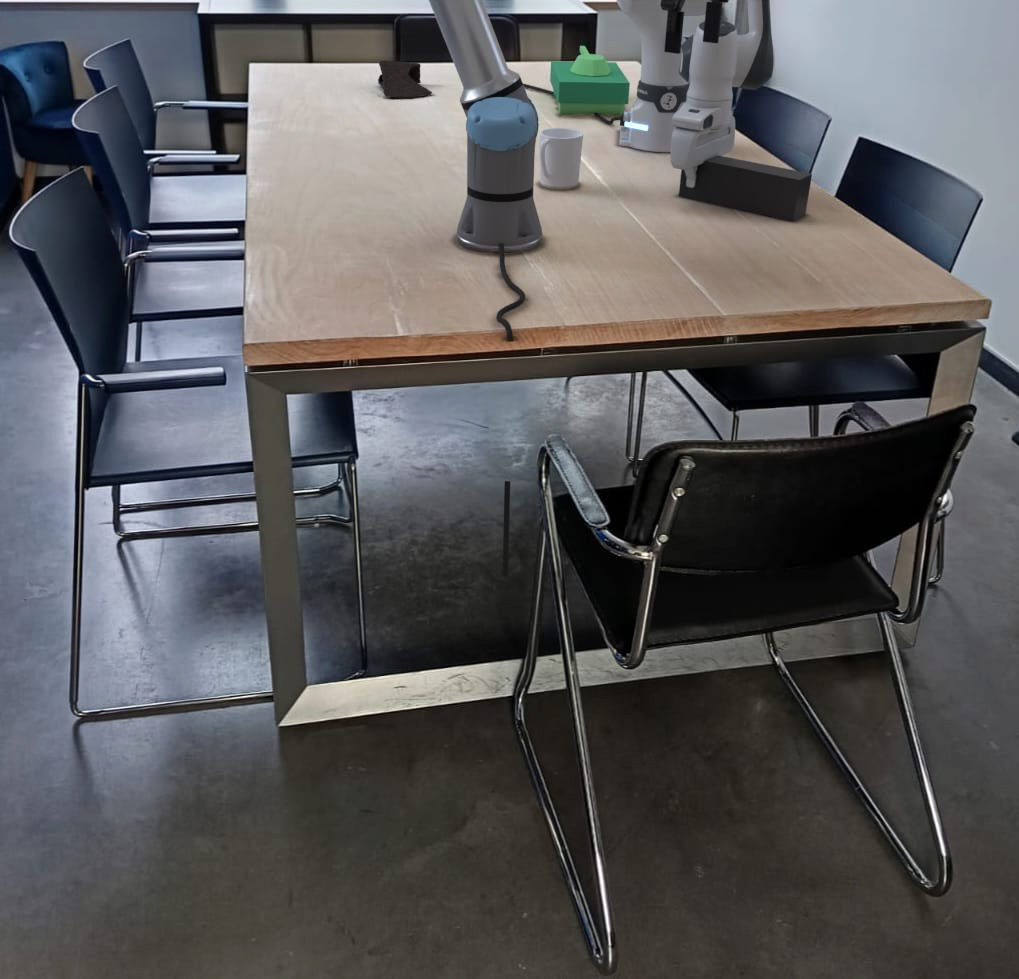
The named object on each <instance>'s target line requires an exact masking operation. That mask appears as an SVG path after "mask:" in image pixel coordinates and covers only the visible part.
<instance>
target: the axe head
mask: <svg viewBox="0 0 1019 979" xmlns="http://www.w3.org/2000/svg"><path fill="white" fill-rule="evenodd" d="M378 66H379V68H380V72H381V74H379V75H378V79H377V84H378V85H379V86H380V87H381V88H382V89H383V95H384V96H385V97H388V98H394V99H395V98H396V99H403V98H405V99H406V98H407V99H411V98H418V97H425V96H429V95H432V94H433V91H431V90H430V89H428V88H427V87H425V86H422V85H421V84H422V82H421V63H419V62H410V61H408V62H407V61H397V60H388V59H387V60H380V61H379V62H378Z"/></svg>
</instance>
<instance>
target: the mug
mask: <svg viewBox="0 0 1019 979" xmlns="http://www.w3.org/2000/svg"><path fill="white" fill-rule="evenodd" d="M583 140H584V132H583V131H582V130H579V129H575V128H569V127H550V128H549V127H548V128H544V129H541V130H540V131H538V144H539V145H538V146H539V147H538V148H539V151H538V155H539V157H538V158H539V159H538V160H539V184H540V186H542V187H543V188H546V189H551V190H571V189H573V188H576V187H578V186H579V181H580V172H581V170H580V169H581V161H582V152H583V151H582V150H583Z"/></svg>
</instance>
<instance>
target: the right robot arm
mask: <svg viewBox="0 0 1019 979" xmlns="http://www.w3.org/2000/svg"><path fill="white" fill-rule="evenodd" d="M746 1H747V2H746V3H747V16H748V18H747V19H748V32H747V33H746V34H738V29H737V27H736V25H734V24H733V23H731V22H728V21H726V20H722V19H721V22H720V31H719V40H718V43H709V42H703V34H704V24H705V20H704V21H702V22H700V23H699V24H698V25H697V27H696V28H695V29H696V30H695V33H694V34H692V35H690V36H689V37H687V39H686V38H685V37H684V36H682V42H681V52H680V54H675V53H668V52H664V49H665V38H666V26H667V14H668V11H667V10H662V7H661V5H660V4H661V0H616V3H617V5H618V7H619V8H620V10H621V11H622V12H623V14H625V15H626V16H627V17H628V18H629V20H631V22H632V23H633V25H634V26H635V29H636V30H637V33H638V36H639V39H640V46H641V62H640V63H641V64H640V79H639V80H638V83H637V87H636V99H635V101H634V102H633V104H632V106H631V108H630V110H626V111H624V113H623V114H622V115H619V116H613V117H611V118H610V119H607V118H605V117H604V116H603V115H600V114H598V113H594V114H593V116H595V117H596V118H598V119H599V120H600V121H602V122H603V123H605V124H606V125H607V124H608V125H613V124H614V122H615V121H616V122H617V121H619V126H620V128H619V140H618V145H619V146H622V147H627V148H628V147H629V148H633V149H637V150H641V151H647V152H657V153H670V158H669V160H670V164H671V166H672V168H673V169H677V170H681V169H682V170H685V174H686V177H687V181H686V186H687V187H691V188H693V187H695V186H697V182H698V178H696V171H697V167H698V165H700V164H703V163H704V161H705V160H707V159H710V158H712V157H715V156H717V155H719V156H724V155H727V154H729V153H731V152H732V151H733V149H734V146H735V139H736V118H735V116H733V115H734V111H733V109H732V107H733V100H734V93H733V88H738V89H742V90H743V89H744V90H750V91H751V90H752V91H756V90H758V89H760V88H762V87H763V86H764V85H765V84H766V83H767V82H769V81H770V80H771V79H772V77H773V74H774V70H775V64H776V63H775V62H776V56H775V49H774V44H773V35H772V34H773V33H772V21H771V20H772V19H771V2H770V0H746ZM707 2H712V1H710V0H685V3H684V5H683V7H682V10H681V11H682V12H684V17H700V16H705V14H706V4H707ZM722 3H723V4H722V9H724V7H725V5H726V4H727V3H725V2H722ZM523 85H524V88H525V89H526V88H527V89H531V90H534V91H538V92H542V93H546V94H548V95H552V96H554V92H553V90H549V89H545V88H542V87H539V86H535V85H530V84H527V83H523Z"/></svg>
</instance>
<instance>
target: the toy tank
mask: <svg viewBox="0 0 1019 979" xmlns="http://www.w3.org/2000/svg"><path fill="white" fill-rule="evenodd" d="M579 53H580V54H579V55H578V56H576V59H575V61H567V60H566V61H563V60H551V61H550V73H549V75H550V76H549V78H550V79H549V81H550V85H551V87H552V89H553V90H552V91H553V92H554V95H553V97H554V98H556V102H557V105H558V115H584V116H585V115H587V116H588V115H590V116H591V115H593V114H594V113H598V114H600V115H601V116H606V115H607V116H621V115H622V114H623V113H624V112H625V107H626V106H625V105H629V100H630V99H629V98H630V97H629V96H630V87H631V86H630V85H631V82H630V81H629V80H628V78H627V77H626V75H625V74H624V73H623V71H622V69H621V68H620V66H619V65H618V63H617V62H615V61H614V62H613V61H611V62H610V61H608V60H607V58H606V56H603V55H601V54H594V53H589V50H588V49H587V47H586V45H580V46H579ZM593 116H594V115H593Z"/></svg>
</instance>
